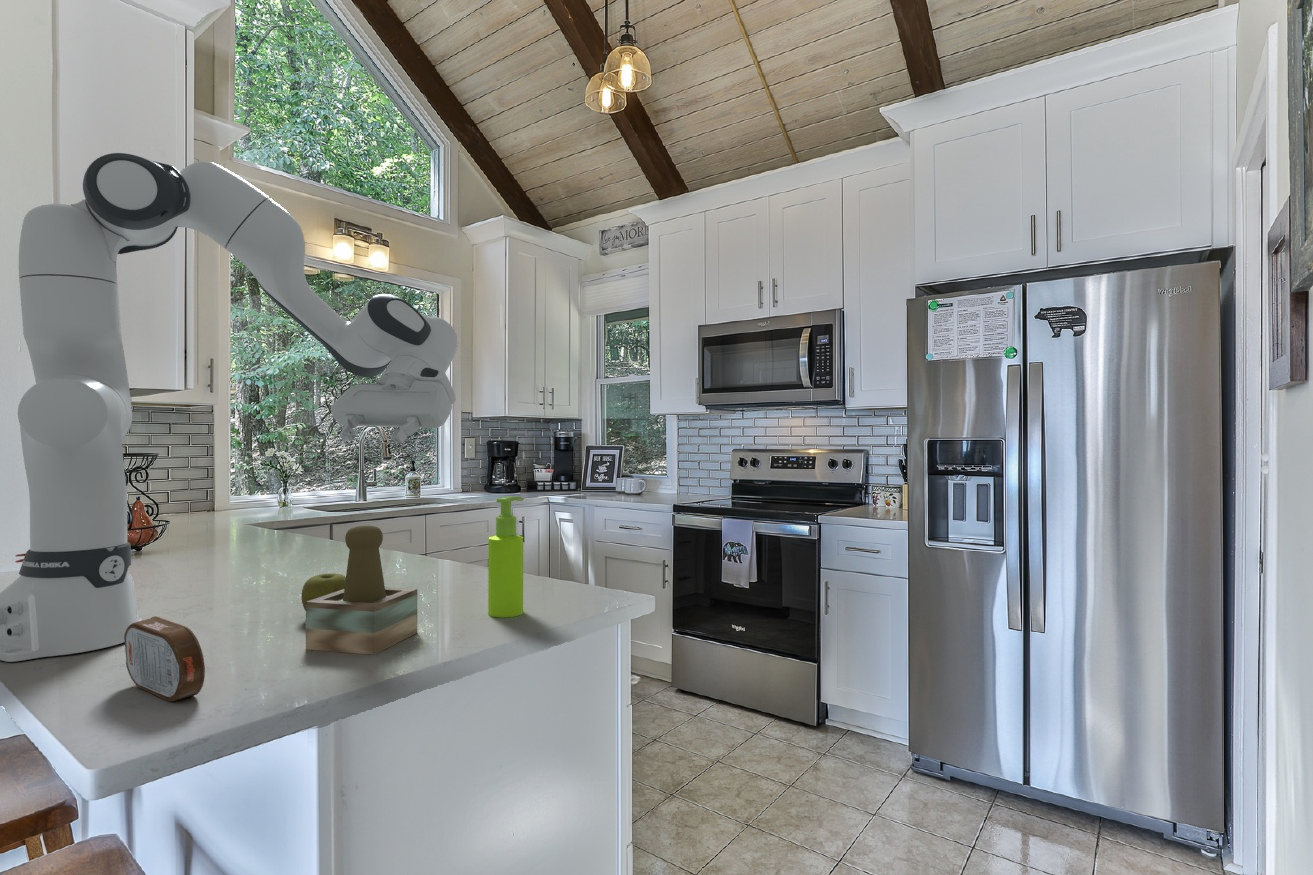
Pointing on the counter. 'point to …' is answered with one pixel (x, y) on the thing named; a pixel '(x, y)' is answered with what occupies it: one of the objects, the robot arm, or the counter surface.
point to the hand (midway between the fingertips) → (370, 439)
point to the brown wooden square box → (360, 622)
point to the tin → (164, 658)
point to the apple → (322, 586)
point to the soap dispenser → (505, 565)
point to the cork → (364, 565)
